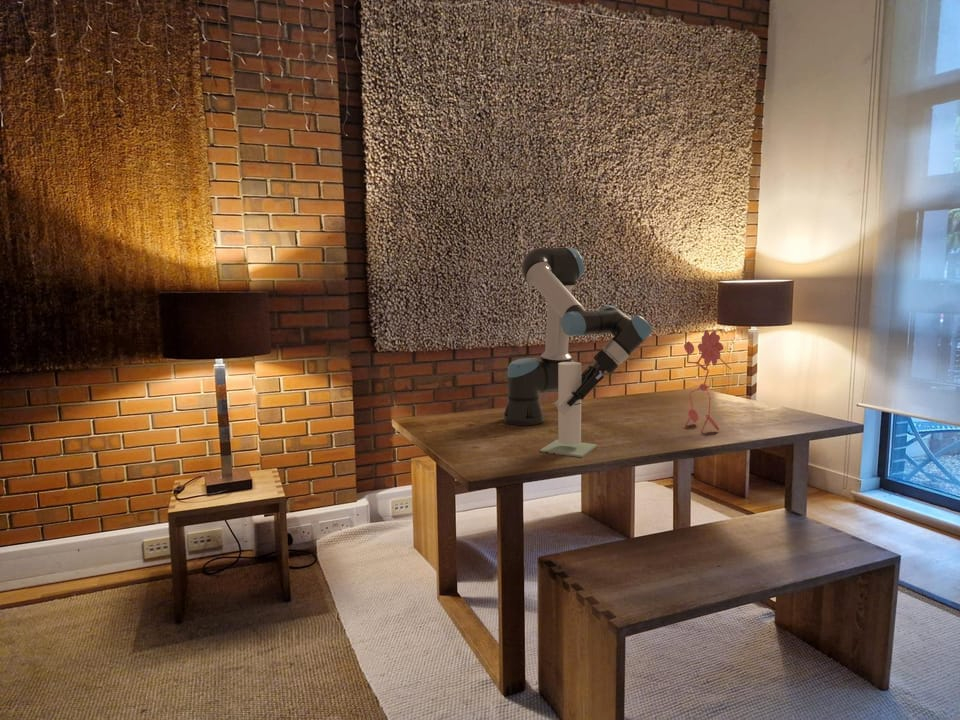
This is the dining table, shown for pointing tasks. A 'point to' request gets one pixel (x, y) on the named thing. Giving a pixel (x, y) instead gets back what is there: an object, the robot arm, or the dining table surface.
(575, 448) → the rubber mat
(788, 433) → the dining table surface
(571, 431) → the cylindrical container
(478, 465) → the dining table surface
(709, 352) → the figurine
